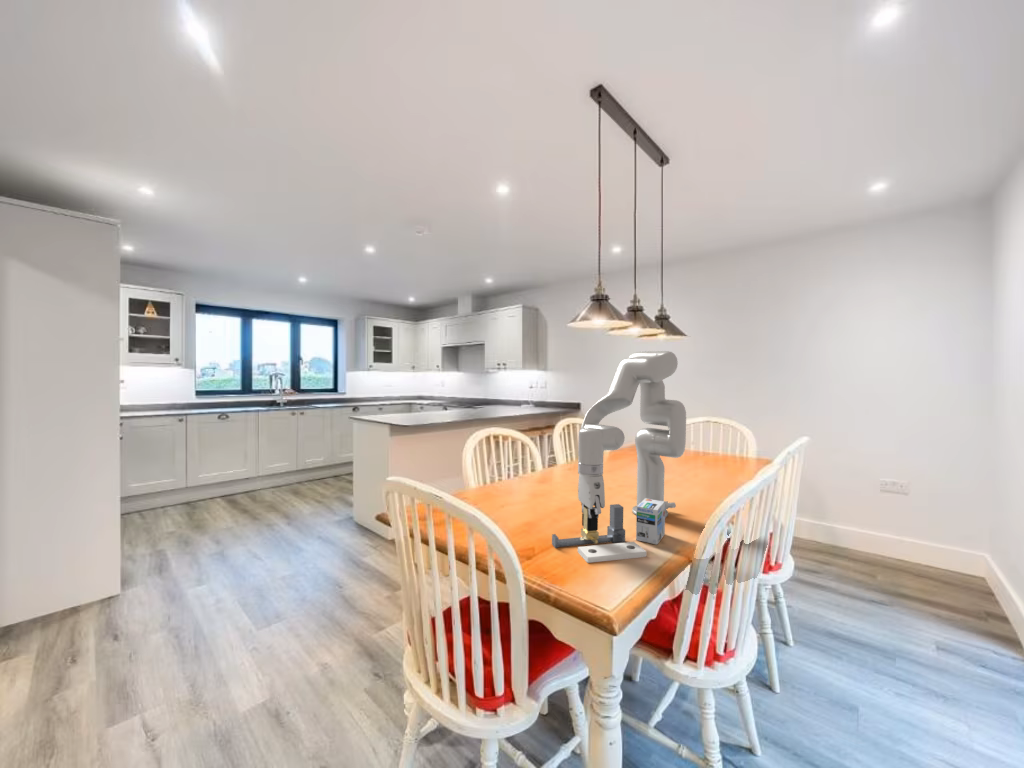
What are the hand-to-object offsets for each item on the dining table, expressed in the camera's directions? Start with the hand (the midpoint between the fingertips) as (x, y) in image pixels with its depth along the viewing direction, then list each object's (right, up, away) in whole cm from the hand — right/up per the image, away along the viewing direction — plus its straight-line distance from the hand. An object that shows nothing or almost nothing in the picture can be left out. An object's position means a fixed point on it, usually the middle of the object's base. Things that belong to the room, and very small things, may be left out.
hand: (589, 527), depth 130 cm
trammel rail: (0, -5, -1) cm, 5 cm away
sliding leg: (0, -3, -1) cm, 3 cm away
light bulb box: (+20, -5, +5) cm, 21 cm away
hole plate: (+5, -5, -8) cm, 11 cm away
